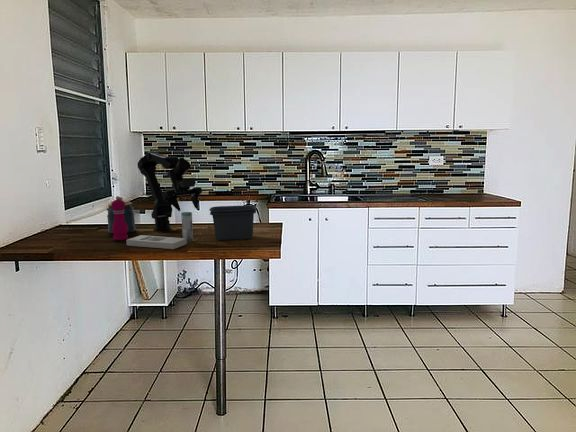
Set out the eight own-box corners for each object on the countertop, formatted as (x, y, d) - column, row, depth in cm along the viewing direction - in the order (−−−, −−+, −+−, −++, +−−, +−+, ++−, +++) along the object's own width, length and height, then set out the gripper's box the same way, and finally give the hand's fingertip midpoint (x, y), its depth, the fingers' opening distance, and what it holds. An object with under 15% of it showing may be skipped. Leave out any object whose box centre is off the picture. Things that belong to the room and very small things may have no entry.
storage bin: (209, 241, 206) (208, 210, 204) (213, 234, 221) (211, 205, 219) (257, 240, 207) (256, 209, 205) (257, 233, 222) (256, 204, 220)
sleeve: (180, 242, 206) (179, 213, 204) (186, 239, 210) (184, 211, 208) (189, 242, 204) (188, 213, 202) (195, 240, 209) (193, 212, 206)
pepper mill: (132, 237, 216) (129, 195, 213) (120, 240, 210) (117, 197, 207) (120, 236, 219) (117, 195, 216) (109, 239, 213) (105, 196, 210)
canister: (140, 229, 237) (138, 195, 234) (127, 234, 224) (124, 198, 221) (117, 228, 239) (114, 195, 236) (103, 234, 226) (100, 198, 223)
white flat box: (126, 245, 201) (126, 239, 200) (141, 240, 210) (141, 234, 210) (173, 249, 193) (173, 242, 192) (186, 244, 202) (186, 238, 201)
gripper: (166, 173, 206) (178, 204, 202) (202, 170, 219) (213, 199, 215) (157, 185, 214) (167, 215, 210) (191, 182, 226) (202, 210, 223)
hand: (188, 209), depth 214 cm, fingers open, 9 cm apart
